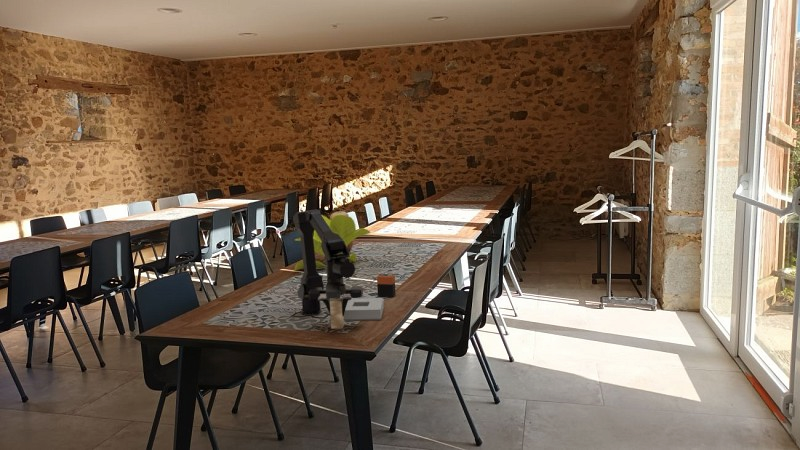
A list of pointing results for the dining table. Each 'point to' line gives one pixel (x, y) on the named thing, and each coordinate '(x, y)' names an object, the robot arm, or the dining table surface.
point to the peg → (336, 313)
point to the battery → (386, 285)
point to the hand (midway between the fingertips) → (337, 315)
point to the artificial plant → (341, 227)
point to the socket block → (364, 309)
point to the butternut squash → (345, 215)
